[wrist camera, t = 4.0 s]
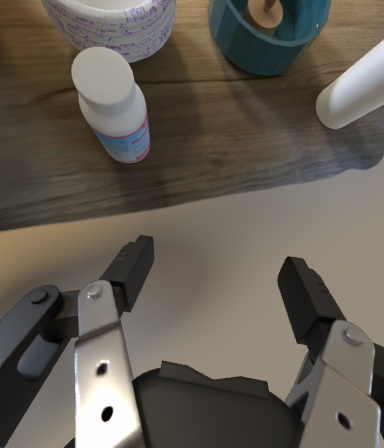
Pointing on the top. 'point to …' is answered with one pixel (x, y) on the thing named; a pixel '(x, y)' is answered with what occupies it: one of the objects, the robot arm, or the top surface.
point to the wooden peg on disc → (263, 15)
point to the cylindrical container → (354, 91)
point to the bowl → (262, 45)
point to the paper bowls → (114, 24)
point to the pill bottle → (112, 103)
